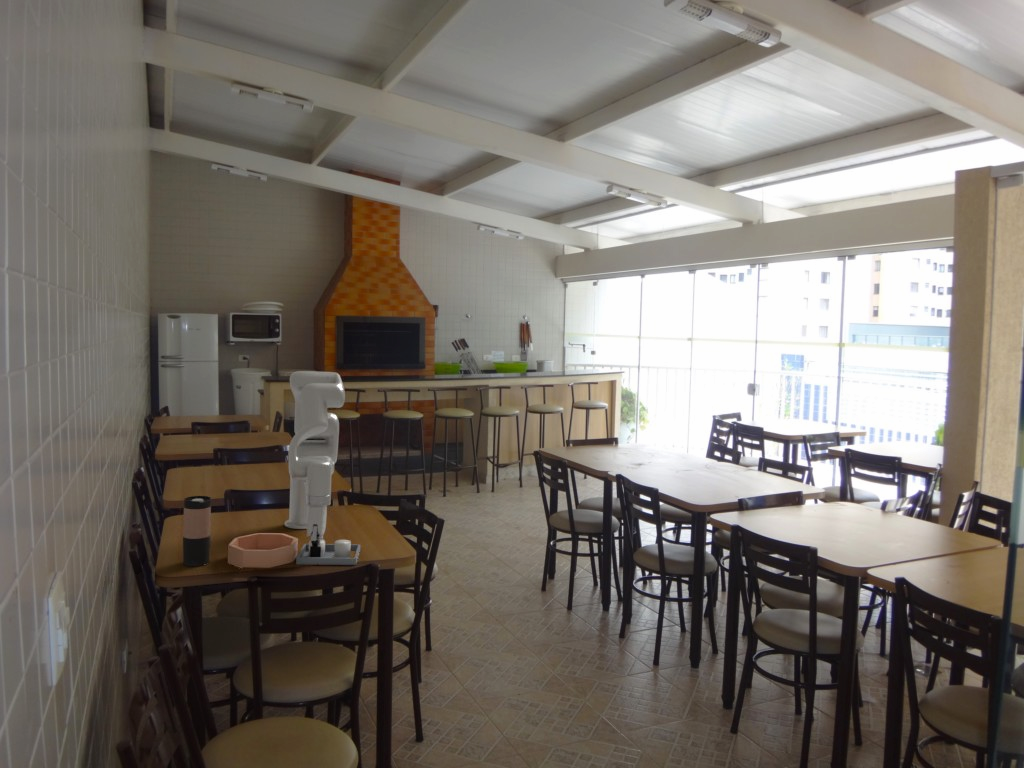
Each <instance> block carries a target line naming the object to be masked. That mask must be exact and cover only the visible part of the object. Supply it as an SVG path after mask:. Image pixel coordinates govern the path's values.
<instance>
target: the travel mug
mask: <svg viewBox="0 0 1024 768" xmlns="http://www.w3.org/2000/svg"><path fill="white" fill-rule="evenodd" d="M211 504H212V499H211V497H210V496H207V495H192V496H187V497H185V498H184V499H183V525H182V549H183V550H182V553H183V554H182V557H183V559H182V561H183V562H182V564H183V565H184V566H185V565H186V566H185V567H188V566H199V567H202V566H201V565H204V564H206V565H208V564H209V563H208V562H210V552H211V551H210V549H211V547H210V546H211V526H212V525H211V515H212V513H211V512H212V511H211V510H212V505H211ZM207 563H208V564H207ZM204 566H205V565H204Z"/></svg>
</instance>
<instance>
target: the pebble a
mask: <svg viewBox="0 0 1024 768" xmlns="http://www.w3.org/2000/svg"><path fill="white" fill-rule="evenodd" d="M317 540H318V539H317ZM308 544H309V552H308V557H310V546H311V539H310V540H309V541H308ZM325 544H326V540H325V539H323V540H321V539H320V546H321V557H325Z"/></svg>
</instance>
